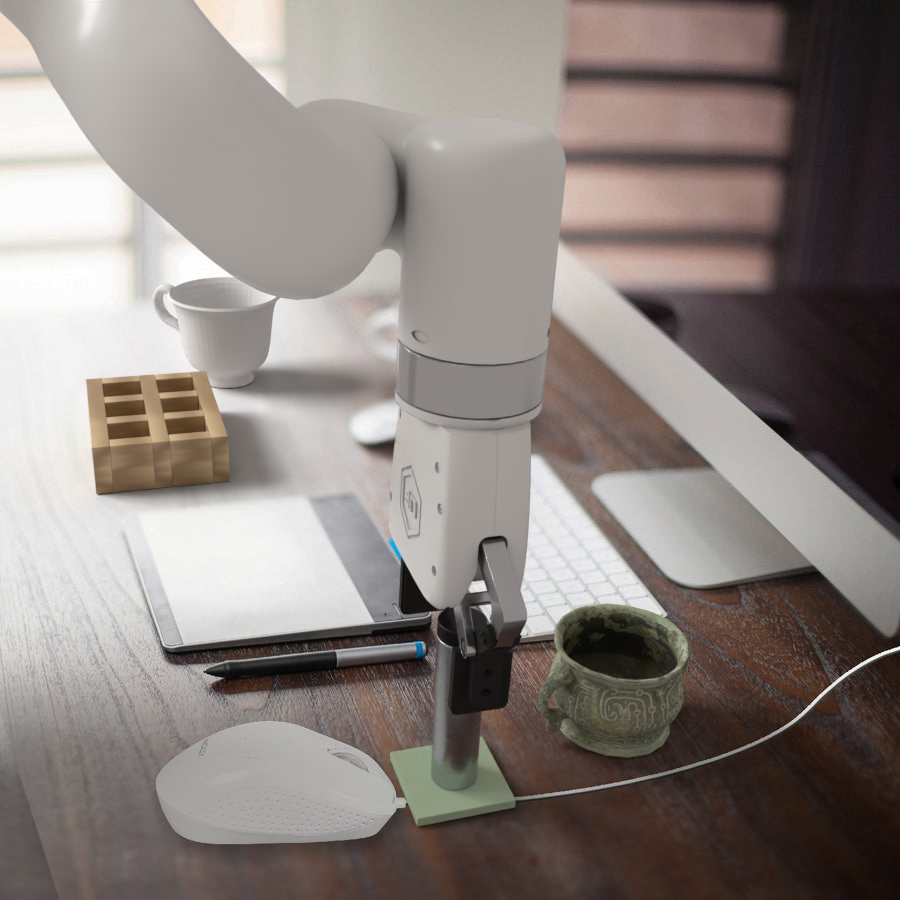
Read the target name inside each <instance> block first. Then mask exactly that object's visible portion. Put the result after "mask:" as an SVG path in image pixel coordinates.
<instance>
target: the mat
mask: <svg viewBox="0 0 900 900" xmlns="http://www.w3.org/2000/svg"><path fill="white" fill-rule="evenodd" d="M431 754H432V744H429V745H424V746H418V747H412V748H406V749H405V748H404V749H399V750H394V751H390V753H389V760H390V763H391V766H392V768H393V771H394V774H395V775H396V778H397V780H398V782H399V785H400V788H401V791H402V793H403V796H404V797H405V800H406V802H407V805H408V808H409V810H410V812H411V815H412V818H413V820H414V822H415V825H416V827H423V826H428V825H433V824H439V823H443V822H449V821H453V820H459V819H464V818H469V817H473V816H479V815H483V814H489V813H494V812H499V811H504V810H510V809H515V808H516V803H517V802H516V801H517V800H516V798H515V795H514V794H513V792H512V790H511V789H510V786H509V784H508V783H507V781H506V778H505V777H504V775H503V773H502V771H501V769H500V767H499V765H498V763H497V762H496V760H495V758H494V756H493V753H492V752H491V750H490V748H489V746H488V745H487V742H486V741H485V739H484V737H483V735H480V743H479V758H478V773H477V779H476V781H475V783H474V784H473V785H472V786H470V787H468V788H466V789H463V790H456V791H454V790H447V789H444V788H441V787H439V786H438V785H437V784H435V783H434V781H433V780H432V778H431Z"/></svg>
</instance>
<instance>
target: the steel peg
mask: <svg viewBox="0 0 900 900" xmlns="http://www.w3.org/2000/svg"><path fill="white" fill-rule="evenodd" d="M470 609H471V615H472V622H473V628H474V631H476V630H477V629H478V628H480V627H481V626H482V625H487V624H488V618H487V616H486V615H485V614H484V613H483V612H482V611H480V610H479V609H477V608H474V607H470ZM436 620H437V621H436V641H435V664H434V665H435V667H434V686H433V687H434V688H433V689H434V690H433V709H432V710H433V711H432V731H431V732H432V733H431V734H432V735H431V745H432V754H431V778H432V780H433V781H434V783H435V784H437V785H438V786H439V787H441V788H444V789H447V790H454V791H456V790H463V789H466V788H468V787H470V786H472V785H473V784H474V783H475V781H476V779H477V773H478V758H479V743H480V736H481V725H482V712H483V711H481V712H475V713H468V714H462V715H453V714H452V713H451V711H450V709H449V707H448V697H449V684H450V671H451V657H452V647H457V646H459V639H458V633H457V626H456V620H455V613H454V607H450V608H448V609H445V610H442V611H440V613H439V614H438V615H437V619H436Z"/></svg>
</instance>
